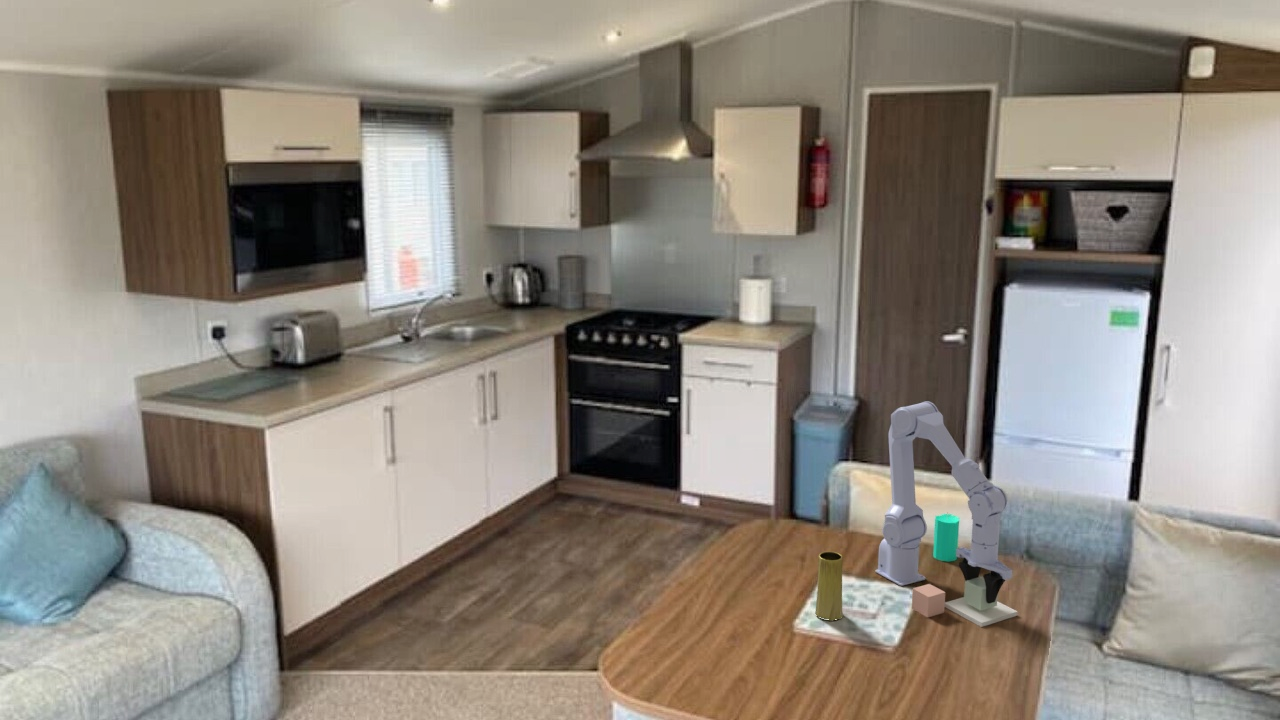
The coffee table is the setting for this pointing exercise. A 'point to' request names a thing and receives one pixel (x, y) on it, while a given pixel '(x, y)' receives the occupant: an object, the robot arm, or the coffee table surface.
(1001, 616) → the base plate
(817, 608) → the vase
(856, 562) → the coffee table surface
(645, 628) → the coffee table surface
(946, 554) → the candle
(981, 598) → the brick bottom
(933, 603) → the brick top
